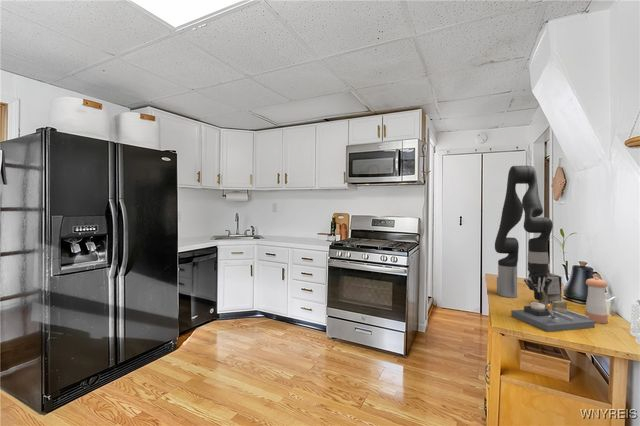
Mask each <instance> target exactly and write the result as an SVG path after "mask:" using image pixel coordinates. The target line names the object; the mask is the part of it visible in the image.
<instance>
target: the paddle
mask: <svg viewBox="0 0 640 426" xmlns="http://www.w3.org/2000/svg"><path fill="white" fill-rule="evenodd" d="M567 310H568V301H567V300H566V301H565V300H561V301H554V302H552V311H555V312H558V313H567Z"/></svg>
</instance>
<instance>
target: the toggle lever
mask: <svg viewBox="0 0 640 426" xmlns="http://www.w3.org/2000/svg"><path fill="white" fill-rule="evenodd" d="M545 308H547V309H548V310H549V313H550V315H551V318H552V319H554V318H555V316H554V314H553V311H552V309H551V308H552V306H551V305H550V304H547V305H546V307H545Z"/></svg>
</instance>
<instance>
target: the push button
mask: <svg viewBox="0 0 640 426" xmlns="http://www.w3.org/2000/svg"><path fill="white" fill-rule="evenodd" d="M530 306H531V309H533V310H536V311H545V308H546V307H545V305H544V304H542V303H538V301H537V302H536V301H533V302H532V301H531V302H530Z"/></svg>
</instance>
